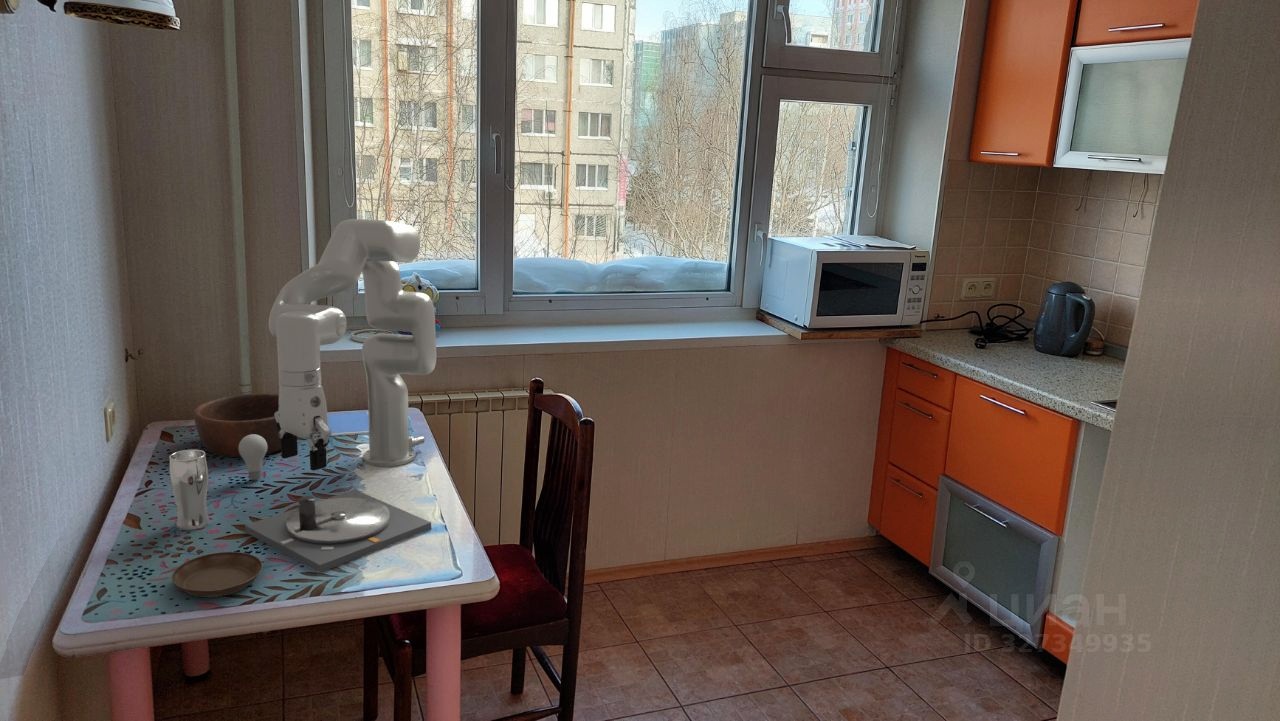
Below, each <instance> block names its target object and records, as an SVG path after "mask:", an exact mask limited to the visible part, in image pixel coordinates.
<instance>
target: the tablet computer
mask: <svg viewBox="0 0 1280 721" xmlns="http://www.w3.org/2000/svg"><path fill="white" fill-rule="evenodd" d="M329 414H330V415H329ZM327 416H328V427H329V429H330V430H331V436H337V435H350V436H358V435H357V434H359V435H361V434H362V435H369V420H368V410H365V411H353V412H352V411H348V412H337V413H336V412H335V413H334V414H332V413H327ZM355 434H356V435H355ZM337 437H338V436H337Z"/></svg>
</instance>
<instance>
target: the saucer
mask: <svg viewBox="0 0 1280 721" xmlns="http://www.w3.org/2000/svg"><path fill="white" fill-rule="evenodd" d="M263 566H264V564H263V561H262V560H261V559H260V557H258V556H255V555H253V554H250V553H247V552H242V551H240V552H239V551H220V552H214V553H208V554H204V555H199V556H197V557H194V558H192V559H189V560H187V561H185V562H182V564H180V565H178V567H176V568H175V570H173V572H172V575H171V581H172V582H173V584H174V585H176V587H177V588H179V589H180V590H181V591H183V592H184V593H187V594H189V595H192V596H194V597H198V596H199V597H200V598H219V597H223V595H224V596H229V595H232V594H235V593H237V592H240V591H242V590H243V589H245V588H247V587H248V586H249V585H250V584H252V583H253V582H254V581H255V580H256V579H257V577H258V576H260V573H261V572H262V570H263V568H264V567H263ZM239 590H240V591H239ZM228 594H229V595H228ZM218 596H219V597H218Z"/></svg>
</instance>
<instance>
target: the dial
mask: <svg viewBox="0 0 1280 721" xmlns="http://www.w3.org/2000/svg"><path fill="white" fill-rule="evenodd" d="M315 500H316V499H315V497H314V496H311V495H309V496H308V495H306V496H302V497H299V498H298V501H297V502H298V508H299V509H297V510H295V511H294V512H292V513H291V514H290V515H289V516H288V518H287V520H286V527H287V531H288V533H289V534H290V535H291V536H292V537H294V538H296V539H298V540H301V541H305V542H310V543H319V544H335V543H345V542H351V541H356V540H360V539H364V538H367V537H370V536H372V535H374V534H376V533H378V532H380V531H381V530H383V529H384V528H385V527H386V526H387V525H388V523H389V521H390V512H389V510H388V508H387V507H386V506H385V505H383V504H381V503H379V502H376V501H373V500H369V499H362V498H335V499H328V500H324V499H322V501H321V500H318V501H315Z"/></svg>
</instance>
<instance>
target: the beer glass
mask: <svg viewBox="0 0 1280 721" xmlns="http://www.w3.org/2000/svg"><path fill="white" fill-rule="evenodd" d="M206 456H207V454H206V452H205V451H204V450H202V449H201V450H200V449H185V450H183V449H182V450H179V451H176V452H173V453H171V454H169V456H168V458H169V464H168V466H169V469H168V470H169V471H168V472H169V482H170V486H171V489H172V494H173V497H174V500H175V504H176V507H177V508H176V509H177V518H176V528H177V529H179V530H182V531H194V530H199V529H202V528H205V527H206V526H208V525H209V524H210V516H209V514H208V513H209V512H208V509H207V497H208V488H209V469H208V468H209V467H208V461H207V457H206Z"/></svg>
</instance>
